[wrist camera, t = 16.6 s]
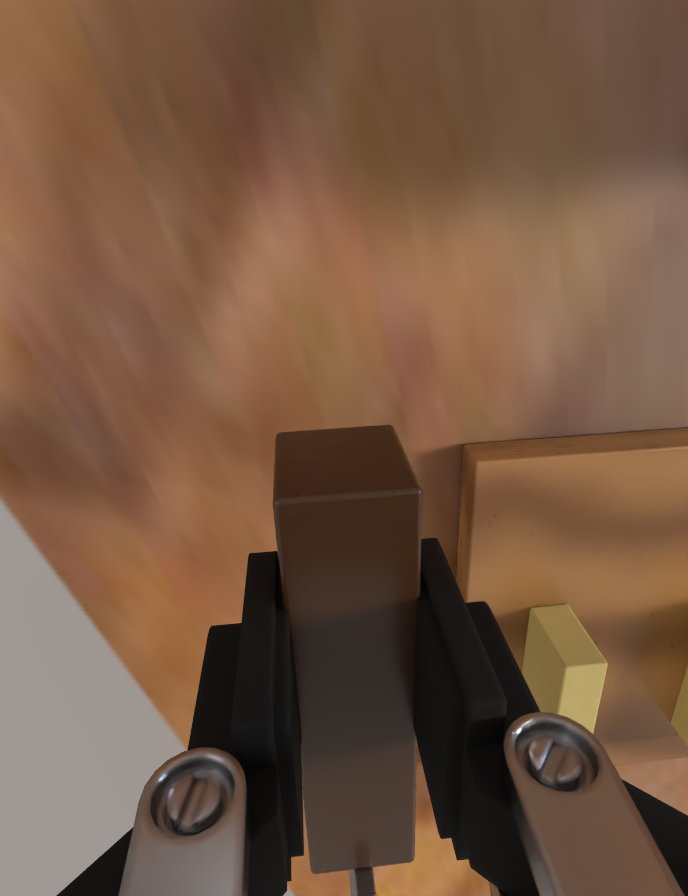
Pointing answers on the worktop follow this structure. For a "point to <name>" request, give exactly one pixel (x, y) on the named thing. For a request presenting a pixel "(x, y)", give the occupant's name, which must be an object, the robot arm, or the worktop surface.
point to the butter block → (682, 711)
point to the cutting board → (590, 563)
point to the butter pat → (563, 665)
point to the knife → (352, 639)
